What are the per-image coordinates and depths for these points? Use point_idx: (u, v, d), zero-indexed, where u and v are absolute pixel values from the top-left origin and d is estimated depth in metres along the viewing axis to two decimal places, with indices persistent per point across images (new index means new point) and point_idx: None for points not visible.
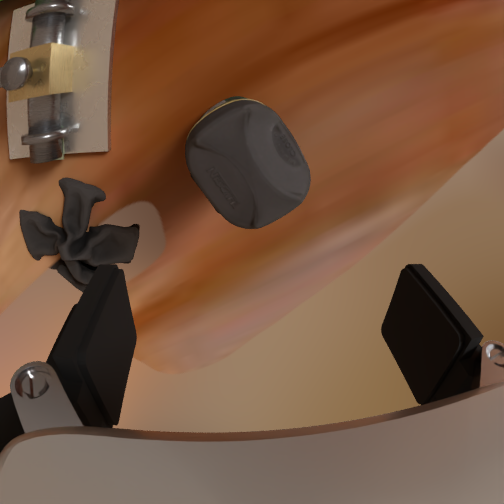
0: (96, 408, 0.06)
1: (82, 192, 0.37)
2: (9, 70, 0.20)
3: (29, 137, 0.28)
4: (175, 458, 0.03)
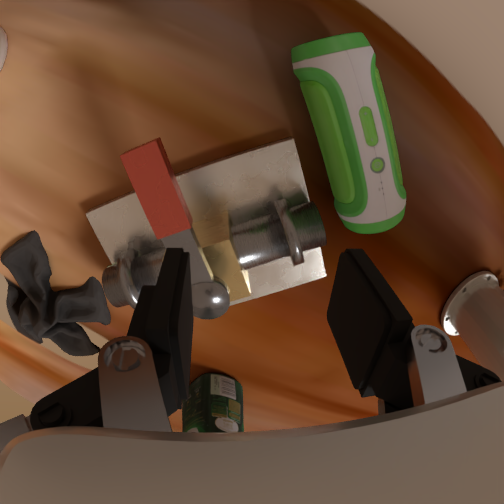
0: (176, 381, 0.07)
1: (99, 313, 0.36)
2: (210, 296, 0.24)
3: (132, 294, 0.28)
4: (176, 458, 0.03)
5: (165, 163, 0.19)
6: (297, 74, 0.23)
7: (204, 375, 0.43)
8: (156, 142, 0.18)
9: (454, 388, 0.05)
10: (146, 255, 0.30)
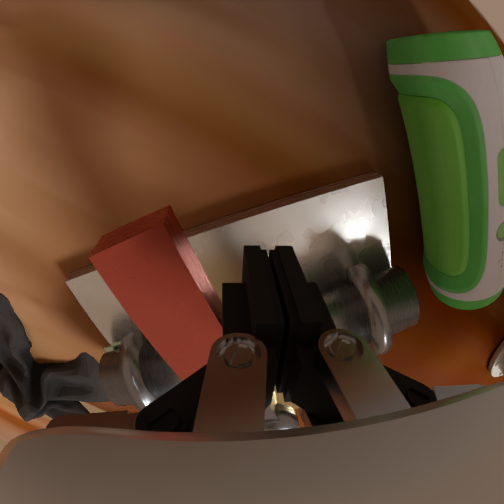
0: None
1: (98, 393, 0.26)
2: None
3: (145, 404, 0.18)
4: (175, 459, 0.03)
5: (190, 268, 0.09)
6: (404, 84, 0.13)
7: None
8: (165, 227, 0.08)
9: (387, 395, 0.05)
10: None
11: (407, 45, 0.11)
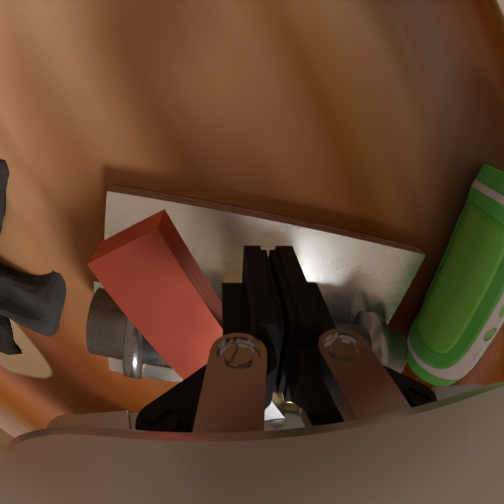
0: None
1: (45, 324, 0.21)
2: None
3: (137, 363, 0.16)
4: (175, 458, 0.03)
5: (186, 271, 0.09)
6: (486, 203, 0.17)
7: None
8: (159, 231, 0.08)
9: (387, 396, 0.05)
10: None
11: None
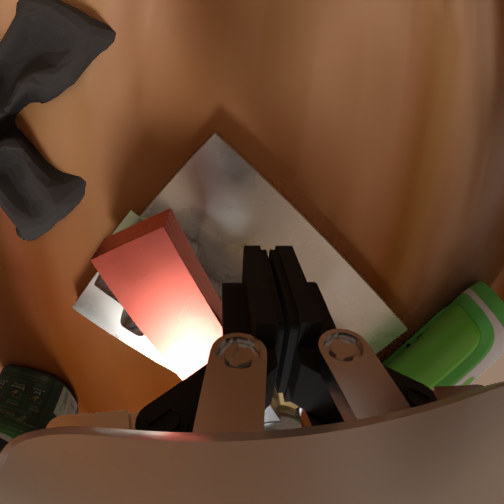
0: None
1: (35, 225, 0.17)
2: None
3: None
4: (176, 458, 0.03)
5: (190, 271, 0.09)
6: (474, 309, 0.21)
7: (56, 380, 0.25)
8: (165, 230, 0.08)
9: (387, 395, 0.05)
10: (212, 280, 0.18)
11: (496, 300, 0.20)
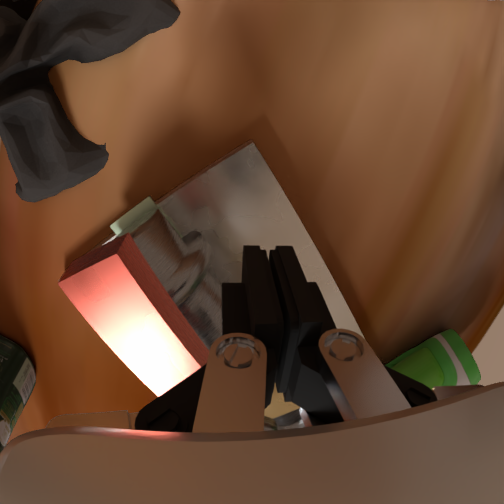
0: None
1: (40, 188, 0.16)
2: None
3: None
4: (176, 458, 0.03)
5: (147, 292, 0.10)
6: (442, 354, 0.23)
7: (19, 350, 0.23)
8: (119, 256, 0.09)
9: (388, 396, 0.05)
10: (215, 283, 0.18)
11: (464, 349, 0.22)
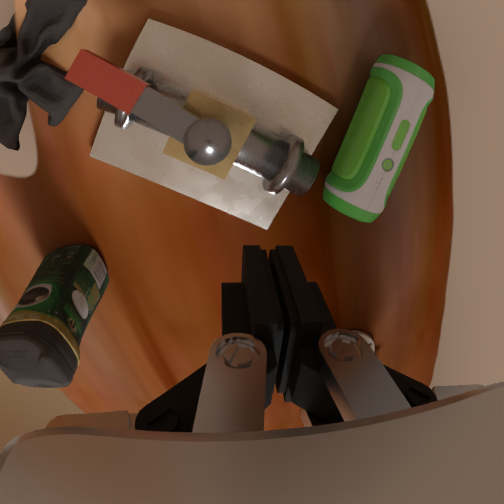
0: None
1: (60, 106, 0.27)
2: (206, 134, 0.22)
3: None
4: (175, 458, 0.03)
5: (97, 57, 0.18)
6: (375, 70, 0.26)
7: (86, 245, 0.36)
8: (82, 50, 0.17)
9: (388, 395, 0.05)
10: (164, 85, 0.26)
11: (388, 56, 0.25)
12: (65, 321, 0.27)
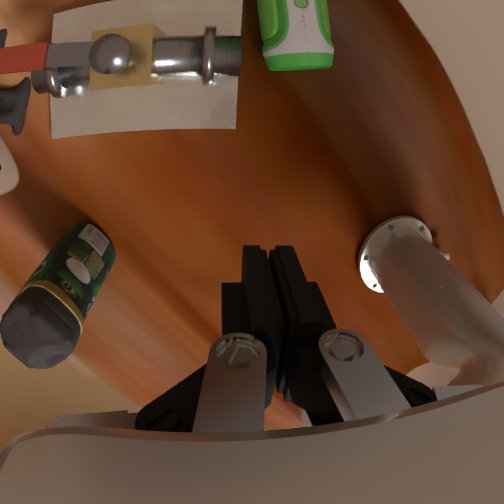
0: None
1: (15, 113, 0.28)
2: (104, 48, 0.19)
3: None
4: (175, 459, 0.03)
5: (9, 47, 0.17)
6: None
7: (81, 223, 0.37)
8: None
9: (388, 396, 0.05)
10: None
11: None
12: (57, 283, 0.27)
